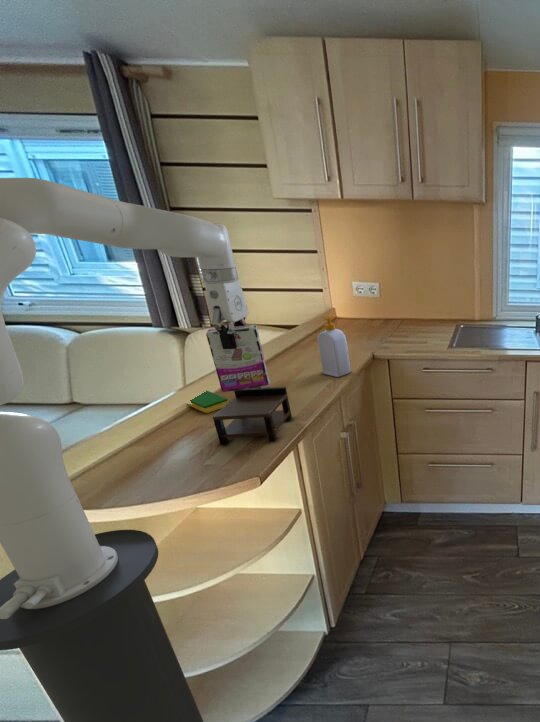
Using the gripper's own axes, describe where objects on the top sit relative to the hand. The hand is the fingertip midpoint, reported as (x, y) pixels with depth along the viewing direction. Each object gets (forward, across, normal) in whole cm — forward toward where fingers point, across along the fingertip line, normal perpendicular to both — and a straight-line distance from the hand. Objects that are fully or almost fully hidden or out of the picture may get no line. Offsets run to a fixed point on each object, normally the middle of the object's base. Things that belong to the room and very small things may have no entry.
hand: (236, 344), depth 107 cm
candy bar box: (+12, 0, 0) cm, 12 cm away
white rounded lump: (+27, +34, +13) cm, 45 cm away
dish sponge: (+27, +22, +24) cm, 42 cm away
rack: (+26, 0, 0) cm, 26 cm away
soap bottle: (+27, +47, -12) cm, 55 cm away
